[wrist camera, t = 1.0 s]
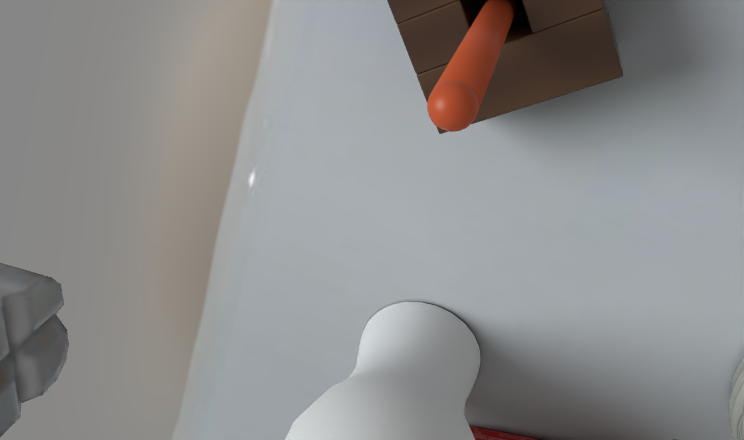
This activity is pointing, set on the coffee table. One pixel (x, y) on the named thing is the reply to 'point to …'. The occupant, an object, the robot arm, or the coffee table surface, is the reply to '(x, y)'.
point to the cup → (401, 381)
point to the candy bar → (496, 435)
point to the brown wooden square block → (515, 48)
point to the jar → (737, 403)
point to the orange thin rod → (471, 67)
